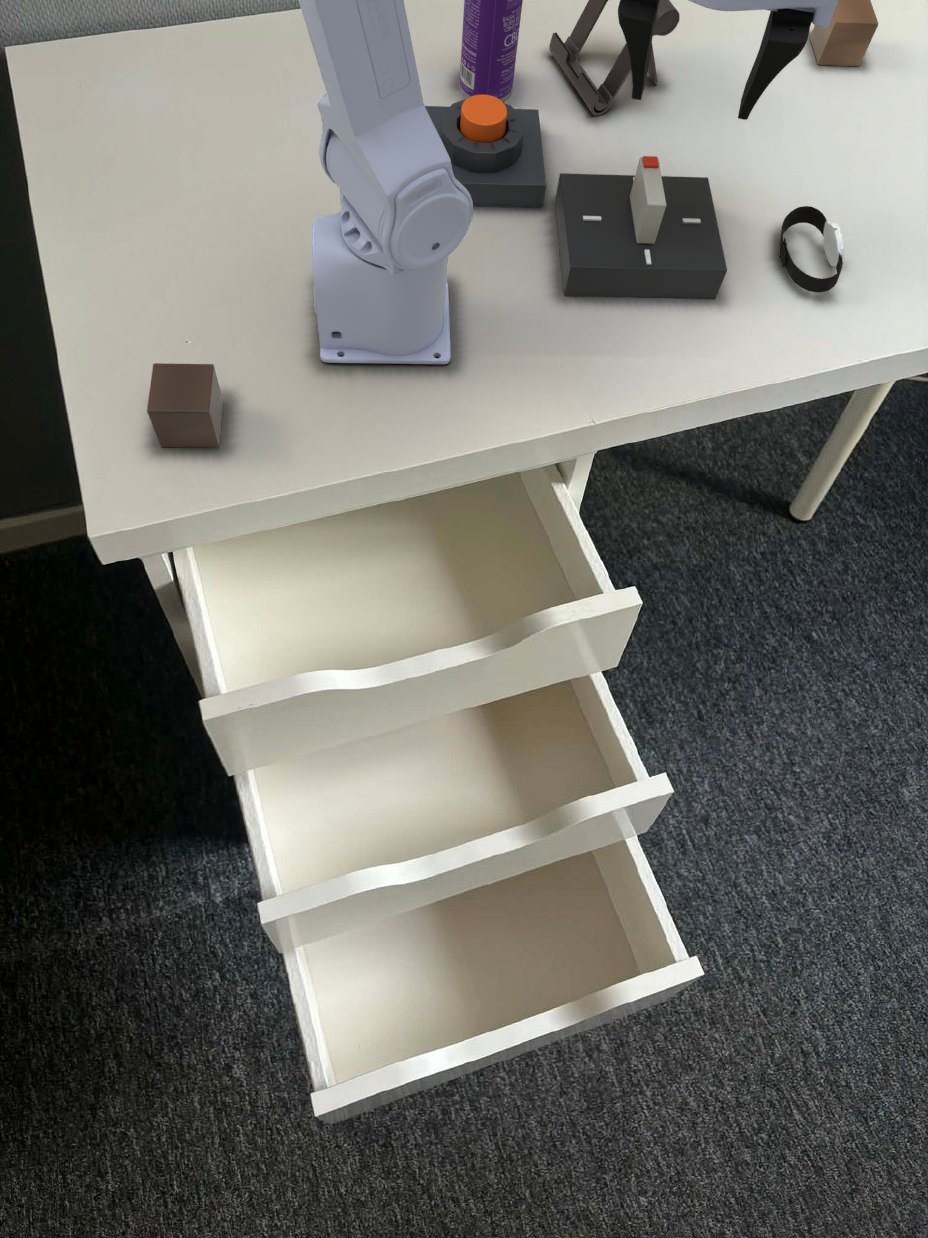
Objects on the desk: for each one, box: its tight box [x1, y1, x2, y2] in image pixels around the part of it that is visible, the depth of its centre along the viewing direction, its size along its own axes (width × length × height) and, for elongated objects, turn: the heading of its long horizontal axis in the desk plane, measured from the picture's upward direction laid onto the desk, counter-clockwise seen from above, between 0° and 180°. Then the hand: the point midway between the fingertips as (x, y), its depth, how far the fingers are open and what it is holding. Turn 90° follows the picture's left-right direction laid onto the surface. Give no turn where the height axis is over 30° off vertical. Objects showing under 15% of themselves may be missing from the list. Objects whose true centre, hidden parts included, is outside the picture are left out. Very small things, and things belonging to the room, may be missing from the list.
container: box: [458, 0, 524, 103], centre depth 76 cm, size 5×5×15 cm
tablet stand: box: [548, 0, 681, 117], centre depth 81 cm, size 9×8×8 cm
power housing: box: [425, 98, 547, 209], centre depth 77 cm, size 10×9×4 cm
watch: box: [778, 205, 845, 293], centre depth 75 cm, size 8×5×4 cm, turn 8°
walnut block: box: [146, 362, 224, 449], centre depth 64 cm, size 4×4×4 cm
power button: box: [460, 95, 507, 143], centre depth 75 cm, size 4×4×2 cm
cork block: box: [809, 0, 879, 67], centre depth 87 cm, size 4×4×4 cm
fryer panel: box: [554, 172, 728, 300], centre depth 74 cm, size 12×10×3 cm
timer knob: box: [630, 155, 666, 244], centre depth 71 cm, size 5×1×4 cm, turn 2°
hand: (691, 99), depth 68 cm, fingers open, 7 cm apart
